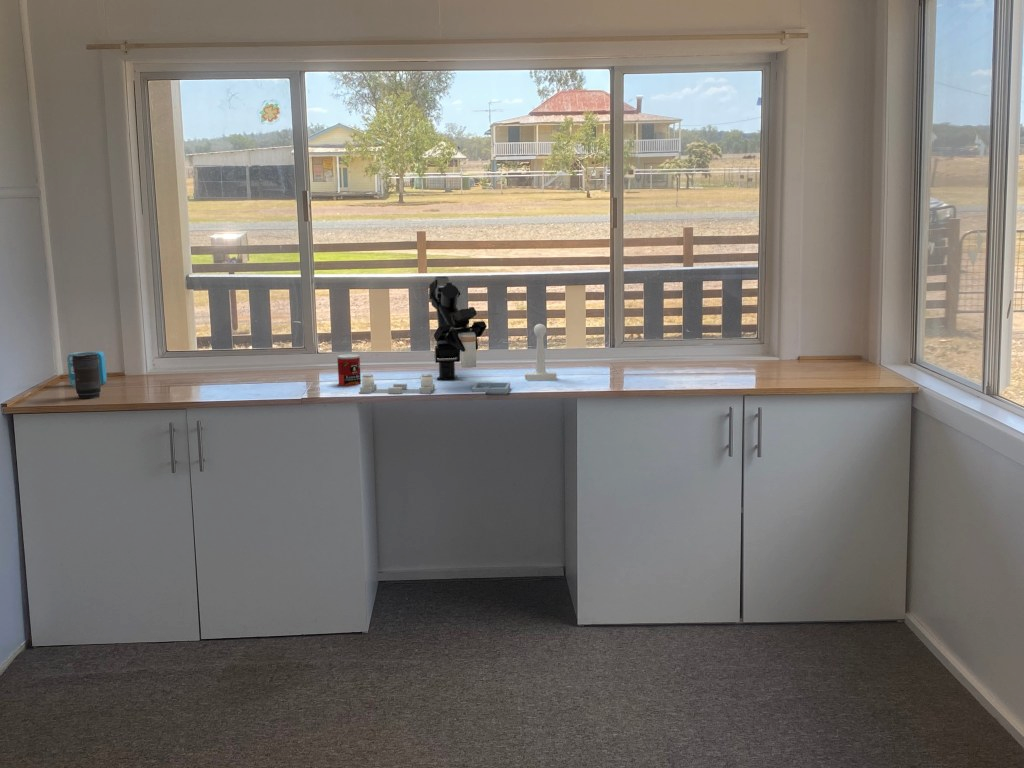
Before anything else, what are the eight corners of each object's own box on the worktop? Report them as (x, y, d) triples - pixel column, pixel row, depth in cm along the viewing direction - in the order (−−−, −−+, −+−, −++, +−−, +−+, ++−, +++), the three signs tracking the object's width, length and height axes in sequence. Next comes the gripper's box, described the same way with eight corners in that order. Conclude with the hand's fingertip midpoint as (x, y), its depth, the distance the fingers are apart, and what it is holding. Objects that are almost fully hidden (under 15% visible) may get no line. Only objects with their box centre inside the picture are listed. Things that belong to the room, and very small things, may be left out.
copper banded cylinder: (458, 366, 346) (457, 332, 344) (470, 364, 349) (469, 331, 347) (467, 368, 342) (466, 334, 340) (479, 366, 345) (478, 332, 343)
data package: (69, 386, 368) (66, 354, 366) (73, 384, 372) (70, 352, 370) (104, 385, 369) (101, 352, 367) (107, 383, 374) (104, 351, 372)
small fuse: (422, 390, 340) (421, 373, 339) (434, 390, 339) (433, 373, 338) (420, 392, 336) (419, 375, 335) (432, 392, 335) (431, 375, 334)
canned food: (345, 389, 350) (343, 358, 348) (334, 386, 356) (333, 355, 355) (365, 386, 354) (363, 355, 353) (354, 384, 361) (353, 353, 359)
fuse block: (364, 391, 345) (364, 383, 344) (437, 391, 342) (437, 383, 341) (357, 396, 336) (357, 388, 336) (432, 396, 333) (431, 388, 333)
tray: (476, 388, 346) (476, 382, 346) (510, 388, 345) (510, 382, 345) (472, 394, 335) (472, 388, 335) (507, 394, 334) (507, 388, 334)
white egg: (364, 390, 342) (363, 374, 341) (375, 390, 342) (375, 373, 341) (361, 392, 338) (360, 375, 337) (373, 392, 338) (372, 375, 337)
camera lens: (71, 398, 344) (66, 354, 342) (92, 394, 351) (88, 351, 348) (85, 400, 340) (81, 356, 337) (106, 396, 346) (102, 352, 344)
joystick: (525, 381, 359) (524, 324, 356) (524, 377, 367) (523, 322, 363) (556, 380, 360) (556, 324, 357) (554, 376, 367) (553, 321, 364)
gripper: (437, 301, 339) (456, 337, 332) (483, 297, 350) (502, 332, 343) (425, 323, 347) (444, 358, 340) (470, 318, 358) (489, 353, 351)
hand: (470, 350), depth 343 cm, fingers closed on copper banded cylinder, 5 cm apart
